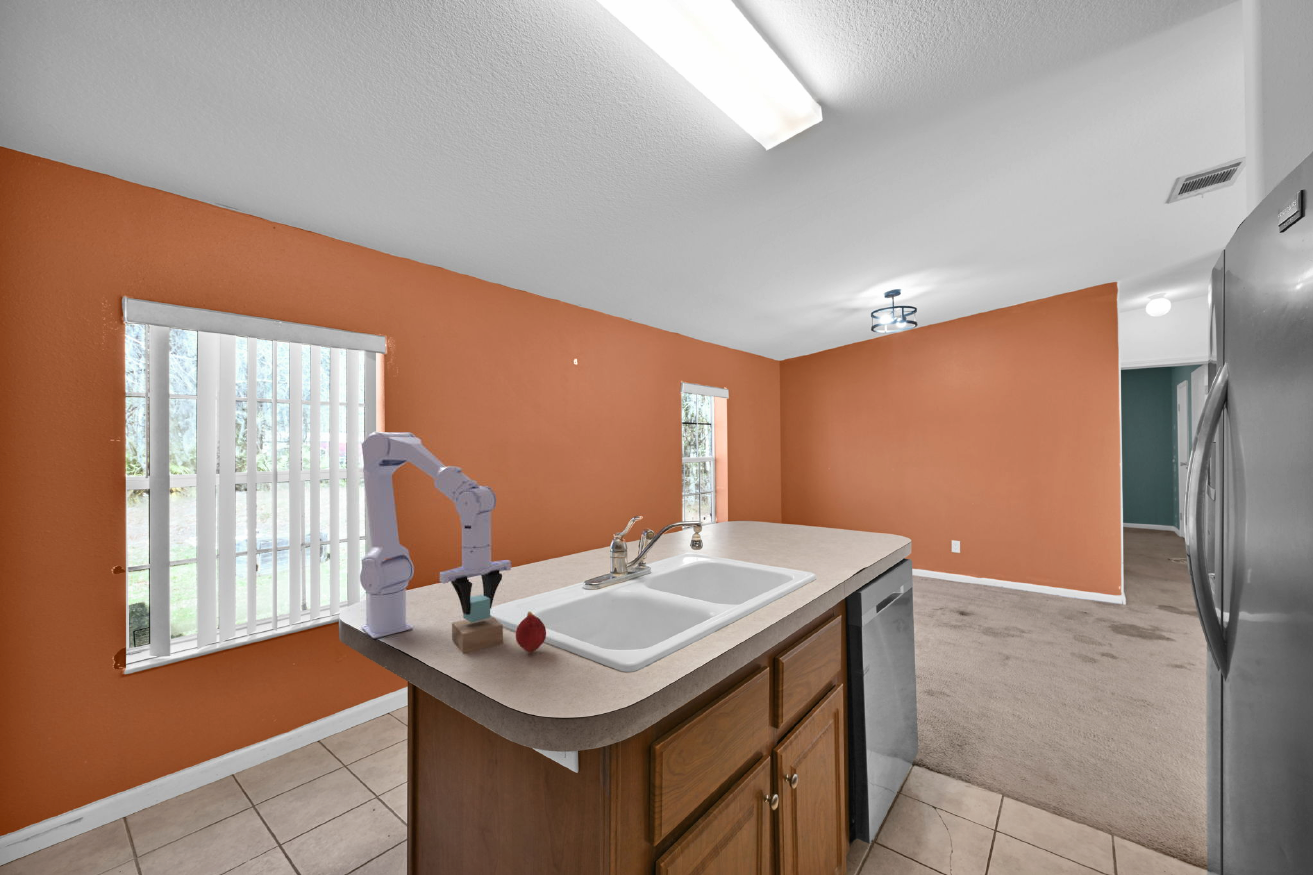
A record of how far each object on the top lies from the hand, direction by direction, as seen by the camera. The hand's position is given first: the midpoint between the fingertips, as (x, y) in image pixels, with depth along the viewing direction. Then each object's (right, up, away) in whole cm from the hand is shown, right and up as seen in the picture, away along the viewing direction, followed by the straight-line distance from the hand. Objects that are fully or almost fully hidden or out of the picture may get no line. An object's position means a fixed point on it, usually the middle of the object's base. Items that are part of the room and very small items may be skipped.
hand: (477, 610), depth 104 cm
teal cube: (0, -2, 0) cm, 2 cm away
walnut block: (0, -7, 0) cm, 7 cm away
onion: (+13, -6, -6) cm, 15 cm away
